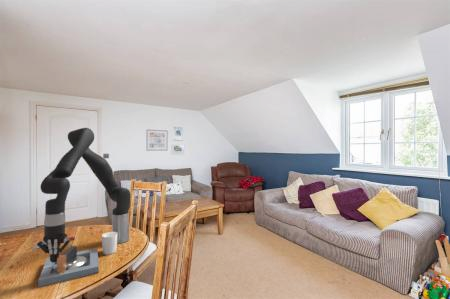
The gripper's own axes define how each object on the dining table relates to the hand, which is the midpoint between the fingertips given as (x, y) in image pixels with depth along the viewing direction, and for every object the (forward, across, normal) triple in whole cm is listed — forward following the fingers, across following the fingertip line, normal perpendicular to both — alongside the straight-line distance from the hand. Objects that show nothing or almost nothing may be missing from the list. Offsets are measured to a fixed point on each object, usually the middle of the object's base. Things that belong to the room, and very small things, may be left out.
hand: (54, 261), depth 101 cm
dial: (+7, -4, -6) cm, 10 cm away
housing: (+8, -4, -8) cm, 12 cm away
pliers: (+8, +19, -44) cm, 49 cm away
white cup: (+8, -17, -23) cm, 29 cm away
